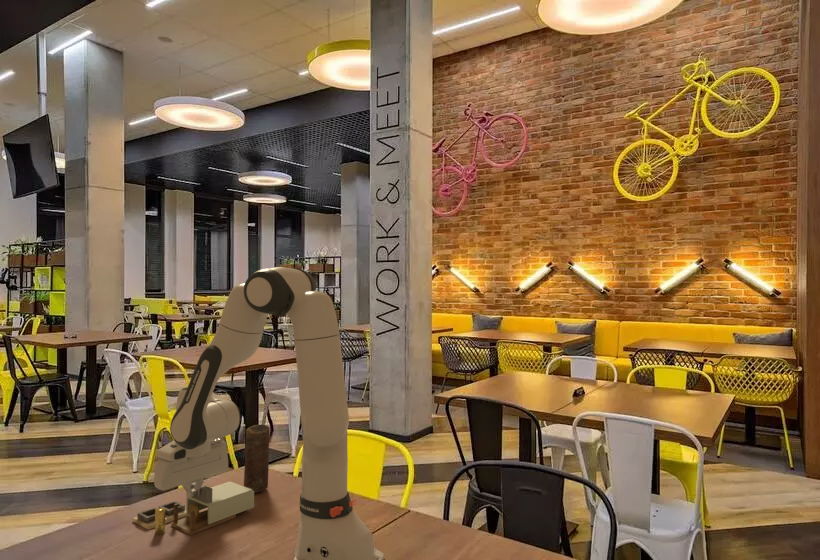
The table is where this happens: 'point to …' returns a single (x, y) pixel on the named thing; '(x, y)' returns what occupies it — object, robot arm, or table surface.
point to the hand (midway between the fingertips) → (192, 496)
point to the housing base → (194, 520)
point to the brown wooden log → (256, 458)
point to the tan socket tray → (148, 516)
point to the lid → (222, 500)
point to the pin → (160, 521)
